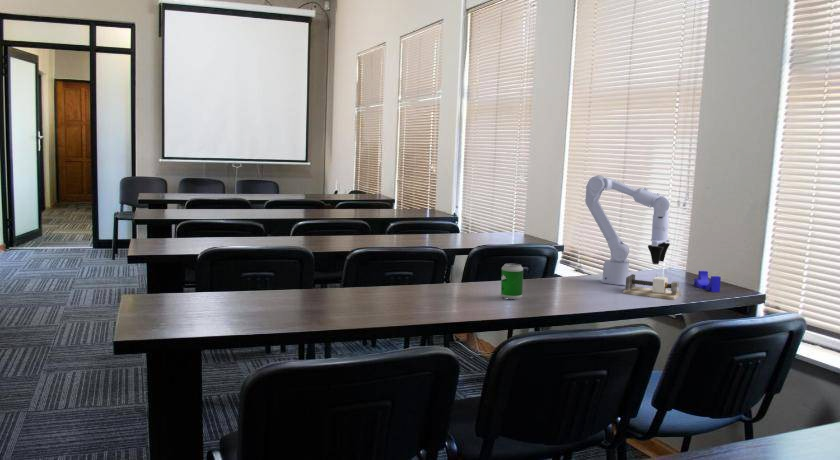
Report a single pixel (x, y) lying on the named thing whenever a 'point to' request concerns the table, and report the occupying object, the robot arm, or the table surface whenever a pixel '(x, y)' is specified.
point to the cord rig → (648, 291)
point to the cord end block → (659, 284)
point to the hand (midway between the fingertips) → (658, 262)
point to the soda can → (512, 281)
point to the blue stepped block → (707, 282)
